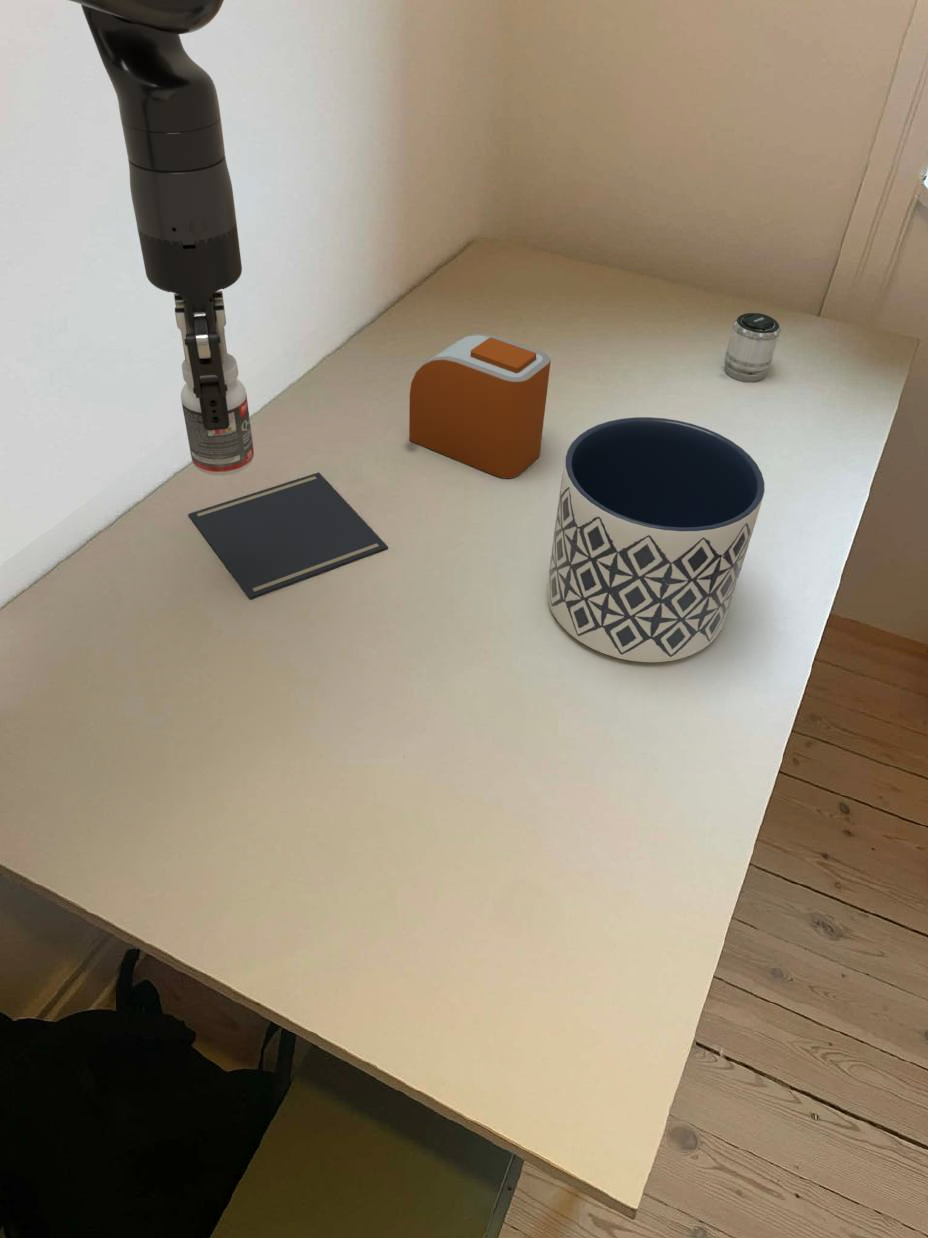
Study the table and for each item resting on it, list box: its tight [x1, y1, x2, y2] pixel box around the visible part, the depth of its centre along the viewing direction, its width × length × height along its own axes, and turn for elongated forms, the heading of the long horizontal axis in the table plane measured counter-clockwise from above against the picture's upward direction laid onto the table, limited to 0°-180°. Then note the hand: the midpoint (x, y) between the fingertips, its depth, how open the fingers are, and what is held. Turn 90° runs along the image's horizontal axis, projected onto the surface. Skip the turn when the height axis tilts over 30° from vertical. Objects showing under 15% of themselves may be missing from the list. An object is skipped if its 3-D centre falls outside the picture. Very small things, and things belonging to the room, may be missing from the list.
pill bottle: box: [180, 352, 255, 477], centre depth 87 cm, size 6×6×10 cm
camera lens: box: [724, 312, 781, 383], centre depth 133 cm, size 6×6×8 cm
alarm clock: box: [408, 332, 552, 479], centre depth 114 cm, size 15×8×14 cm, turn 57°
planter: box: [546, 416, 766, 663], centre depth 93 cm, size 18×18×16 cm
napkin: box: [187, 472, 389, 600], centre depth 105 cm, size 16×16×1 cm
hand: (215, 408), depth 86 cm, fingers closed on pill bottle, 5 cm apart
